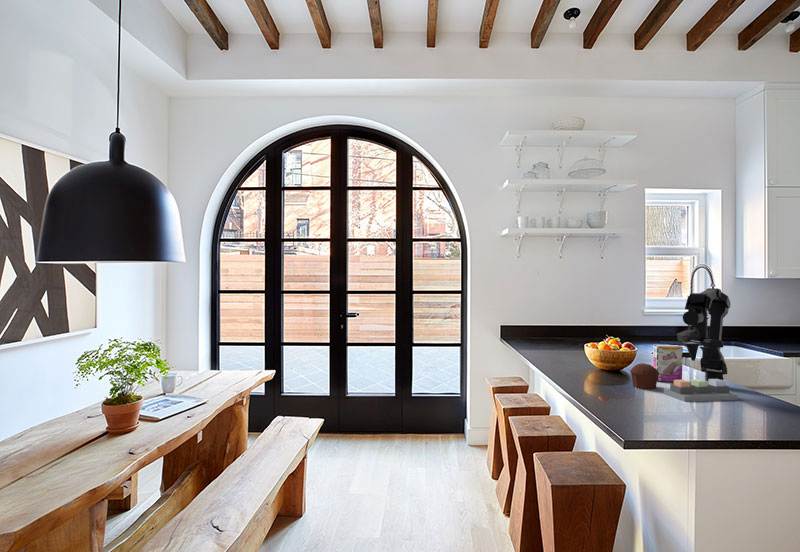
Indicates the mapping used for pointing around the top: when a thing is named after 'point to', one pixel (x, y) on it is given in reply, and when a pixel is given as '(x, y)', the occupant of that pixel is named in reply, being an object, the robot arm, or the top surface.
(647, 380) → the muffin
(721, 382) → the slate button
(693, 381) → the sage button
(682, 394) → the button panel
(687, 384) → the terracotta button
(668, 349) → the candy bar box
